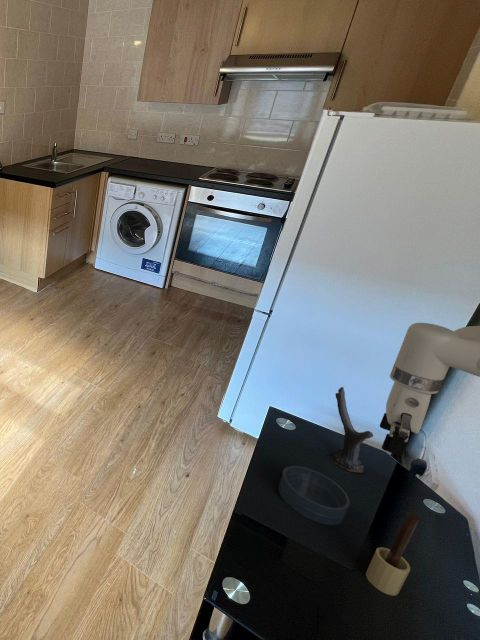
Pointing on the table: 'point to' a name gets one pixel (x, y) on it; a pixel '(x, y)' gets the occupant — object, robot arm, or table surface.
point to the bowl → (313, 495)
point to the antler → (349, 439)
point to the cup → (386, 572)
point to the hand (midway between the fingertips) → (389, 440)
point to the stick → (402, 539)
